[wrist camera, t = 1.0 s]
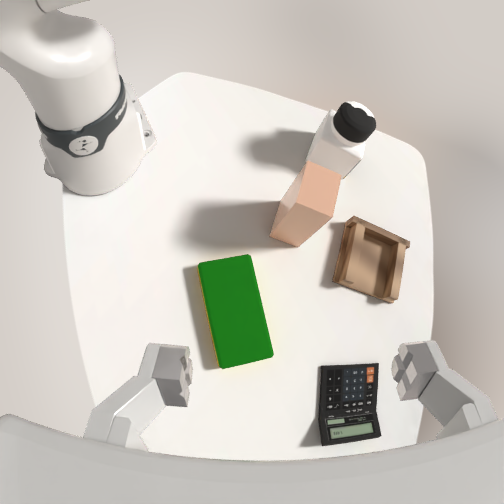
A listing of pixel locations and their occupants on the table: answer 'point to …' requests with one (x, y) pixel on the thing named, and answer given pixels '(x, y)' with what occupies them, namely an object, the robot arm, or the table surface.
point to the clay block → (306, 204)
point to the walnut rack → (370, 260)
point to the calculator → (348, 403)
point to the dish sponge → (234, 311)
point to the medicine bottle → (342, 138)
